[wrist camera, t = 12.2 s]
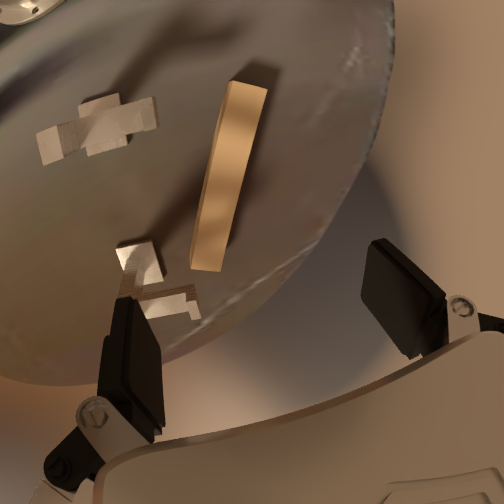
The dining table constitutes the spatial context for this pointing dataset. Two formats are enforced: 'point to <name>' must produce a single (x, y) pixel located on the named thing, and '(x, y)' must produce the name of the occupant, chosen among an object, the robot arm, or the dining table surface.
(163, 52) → the dining table surface
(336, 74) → the dining table surface
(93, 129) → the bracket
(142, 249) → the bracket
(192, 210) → the dining table surface
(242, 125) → the rail
